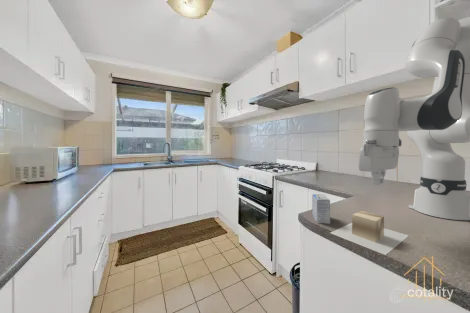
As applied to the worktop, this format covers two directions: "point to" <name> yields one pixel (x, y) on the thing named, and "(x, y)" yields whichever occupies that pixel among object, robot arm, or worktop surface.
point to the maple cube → (368, 225)
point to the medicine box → (321, 208)
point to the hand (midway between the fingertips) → (378, 184)
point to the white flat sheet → (381, 245)
